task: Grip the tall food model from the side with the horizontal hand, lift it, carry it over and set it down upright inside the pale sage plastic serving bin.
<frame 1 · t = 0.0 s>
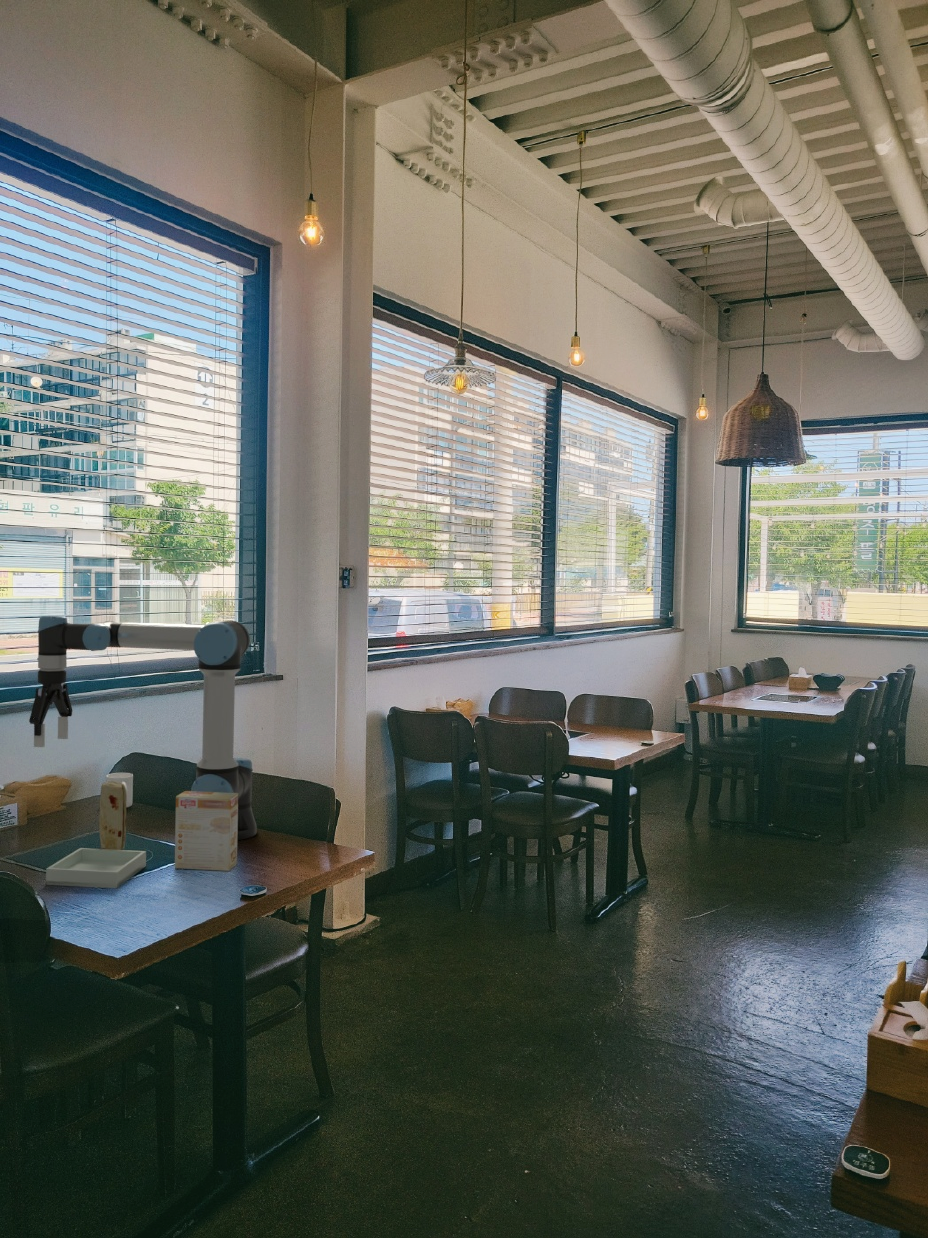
hand: (51, 742, 270), 28 cm above the table, tool pointing down, fingers open, 13 cm apart
coffeecake box: (206, 867, 250), on the table
serving bin: (97, 875, 240), on the table
mug: (120, 807, 309), on the table
food model: (111, 854, 259), on the table
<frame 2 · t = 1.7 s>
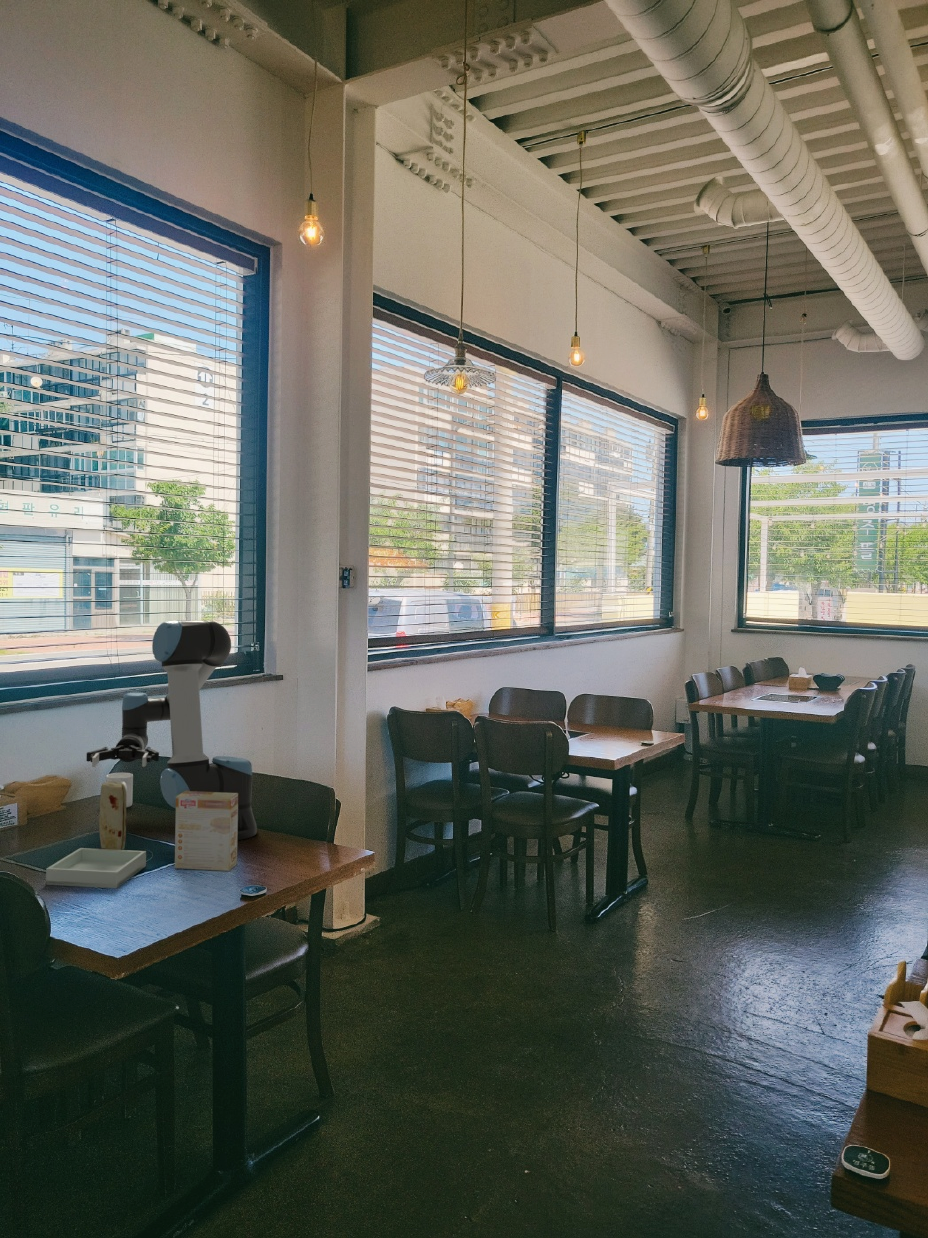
hand: (118, 762, 267), 23 cm above the table, tool horizontal, fingers open, 13 cm apart
nothing on the table moved.
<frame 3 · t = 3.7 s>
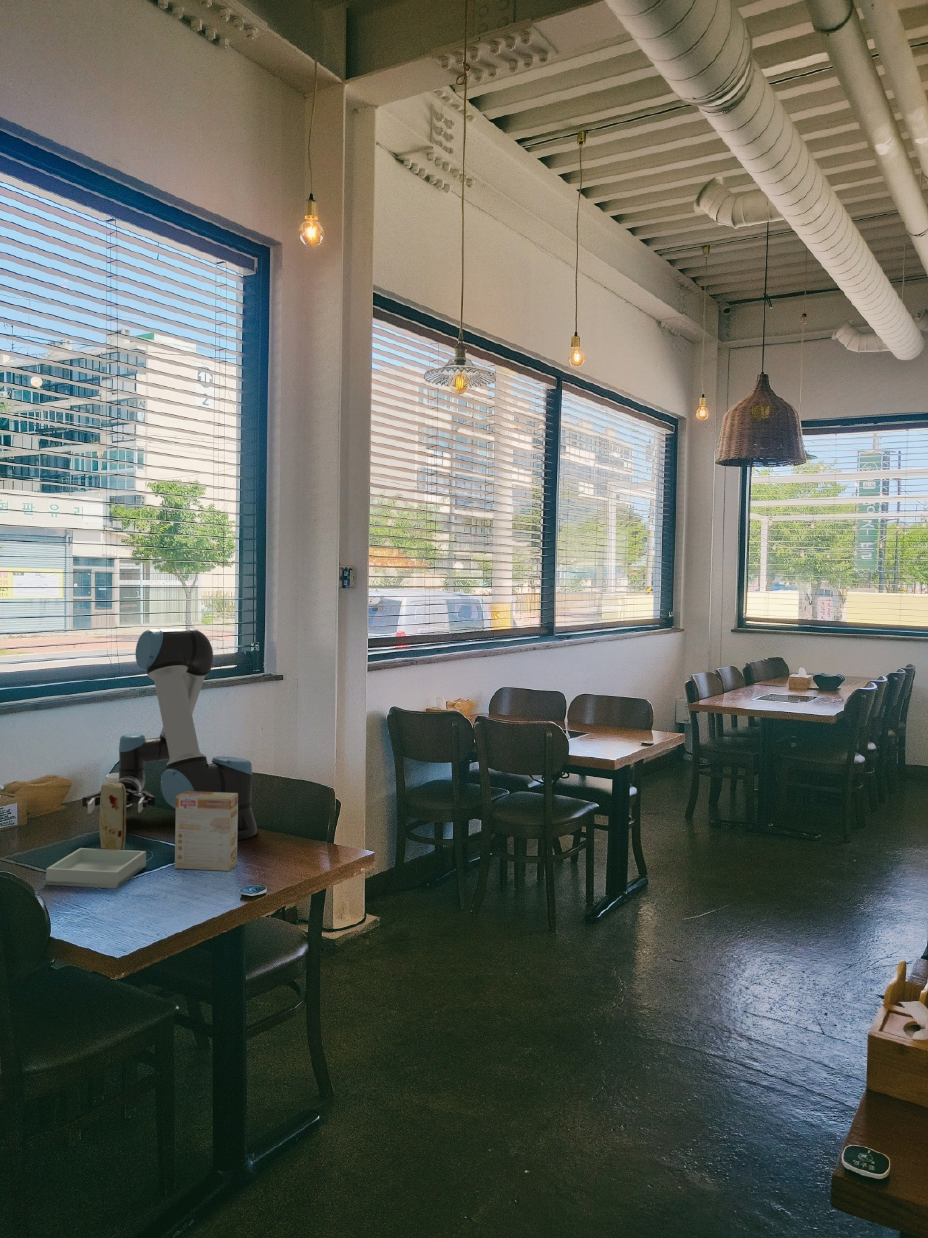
hand: (114, 808, 265), 11 cm above the table, tool horizontal, fingers open, 13 cm apart
nothing on the table moved.
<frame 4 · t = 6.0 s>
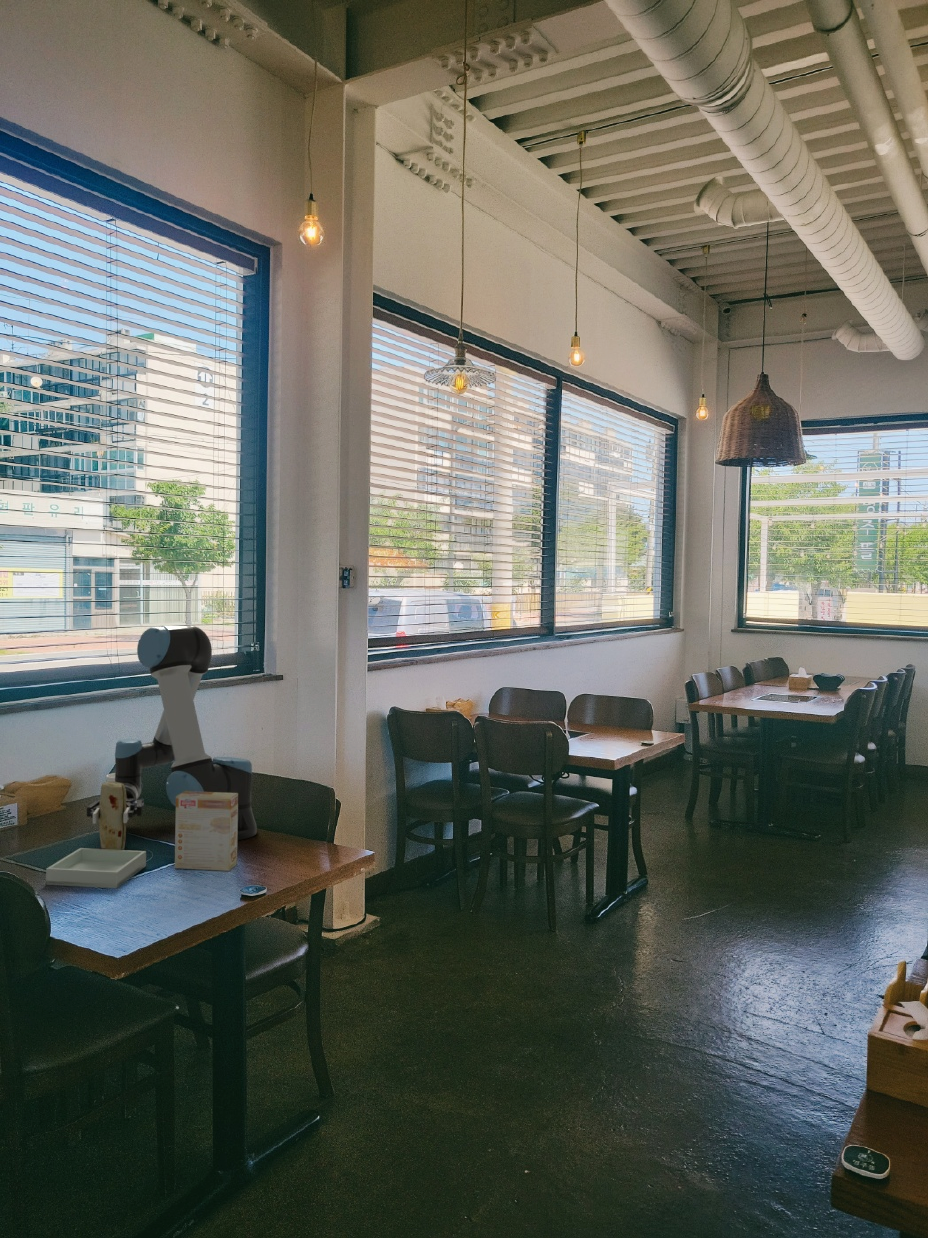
hand: (109, 818, 254), 11 cm above the table, tool horizontal, fingers closed on food model, 7 cm apart
food model: (111, 854, 259), on the table, touching gripper
everything else where it was.
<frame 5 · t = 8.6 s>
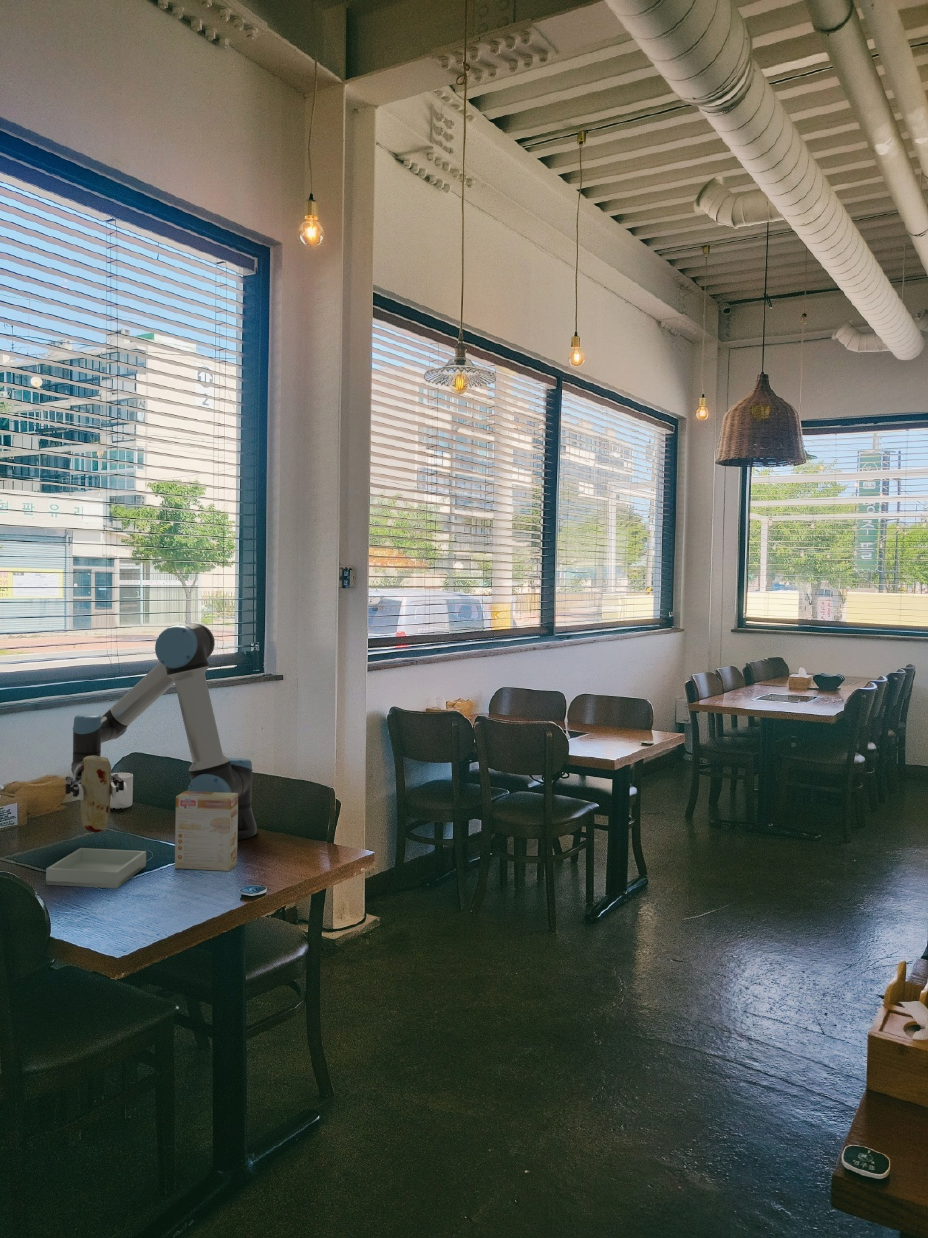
hand: (98, 793, 242), 20 cm above the table, tool horizontal, fingers closed on food model, 7 cm apart
food model: (95, 831, 247), point 9 cm above the table, touching gripper
everything else where it was.
when the fingers open (13 cm above the table, at t = 11.1 s): food model drops 1 cm, resting on serving bin.
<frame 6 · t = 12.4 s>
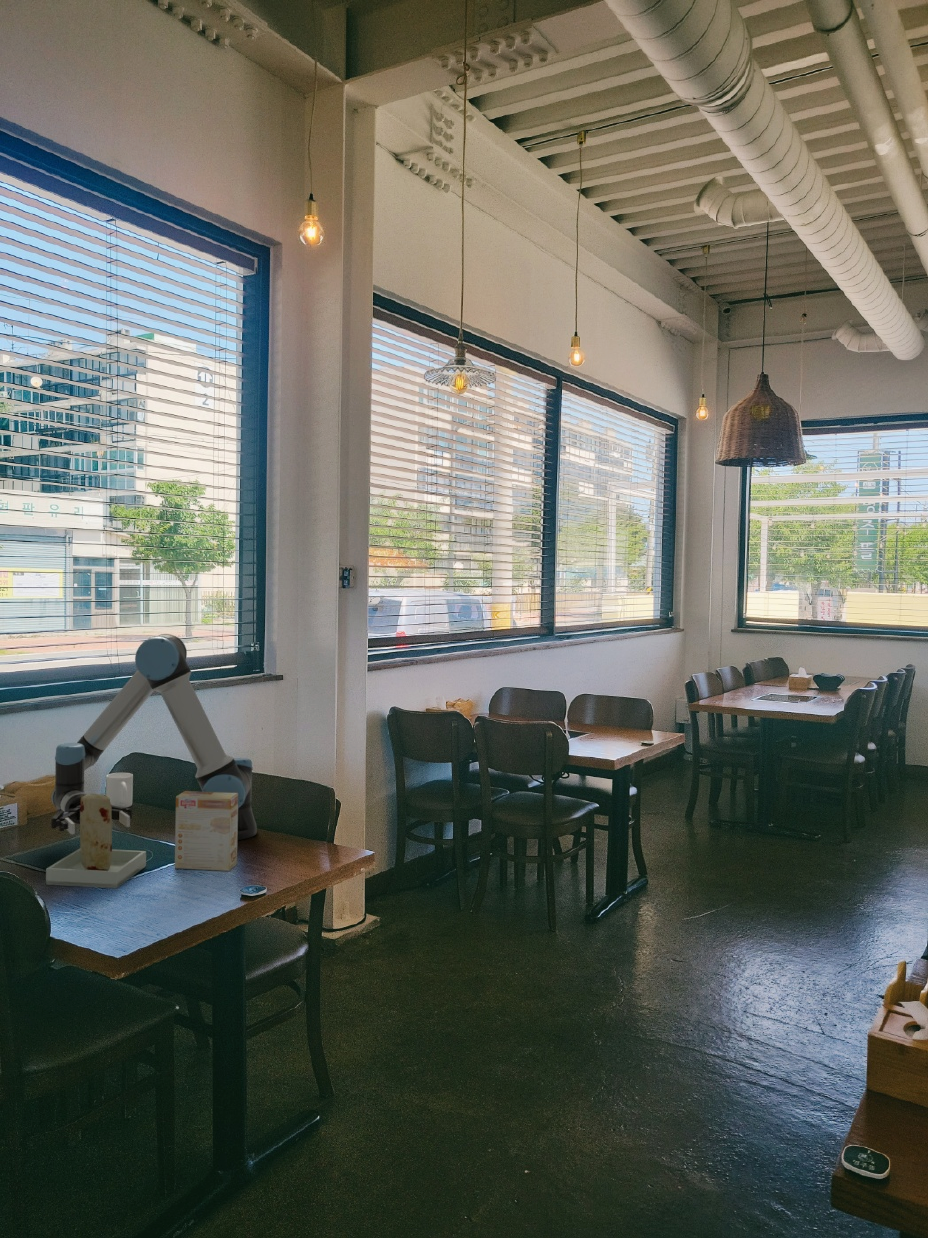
hand: (101, 825, 238), 14 cm above the table, tool horizontal, fingers open, 13 cm apart
food model: (97, 871, 240), point 1 cm above the table, touching serving bin
everything else where it was.
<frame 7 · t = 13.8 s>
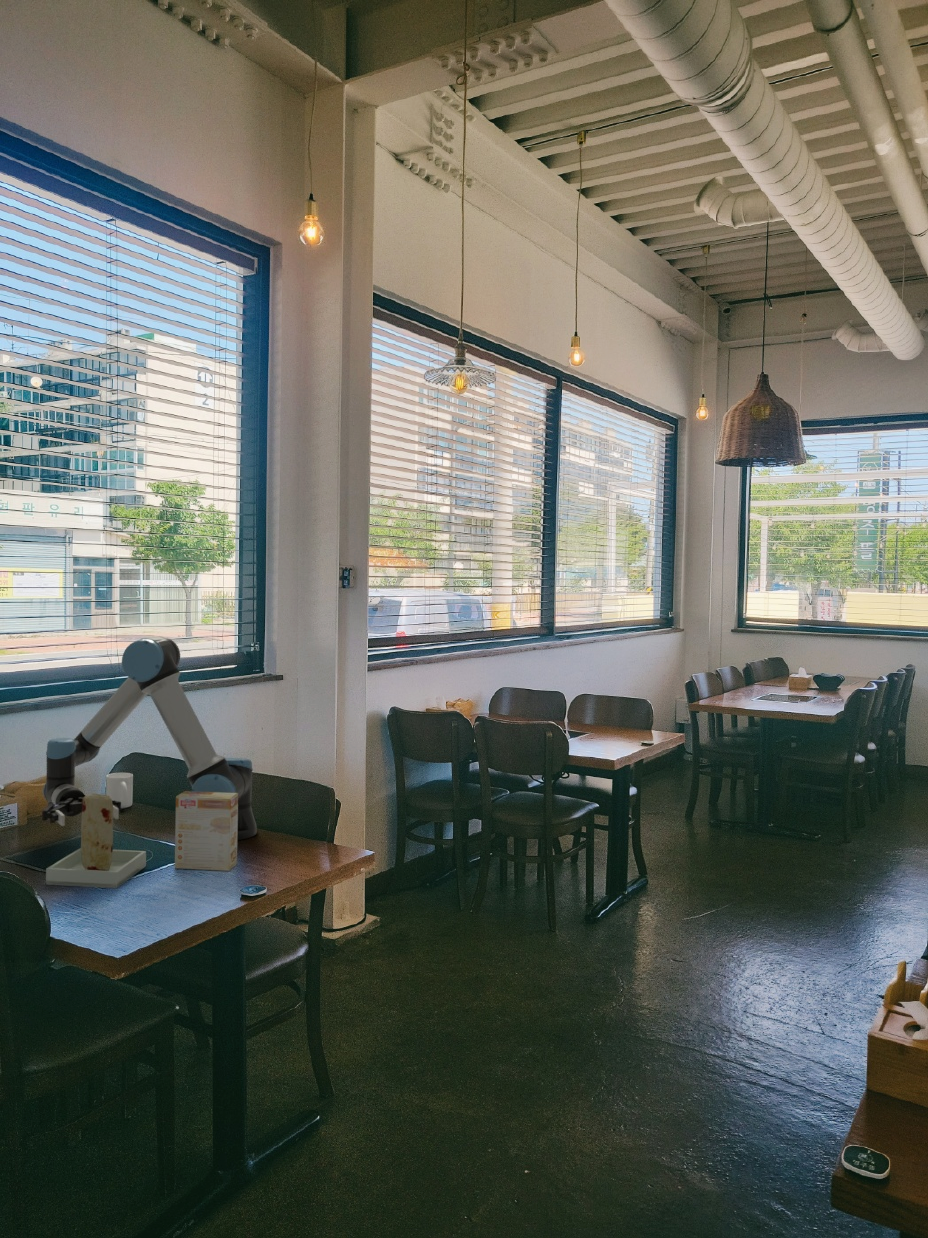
hand: (90, 817, 245), 14 cm above the table, tool horizontal, fingers open, 13 cm apart
nothing on the table moved.
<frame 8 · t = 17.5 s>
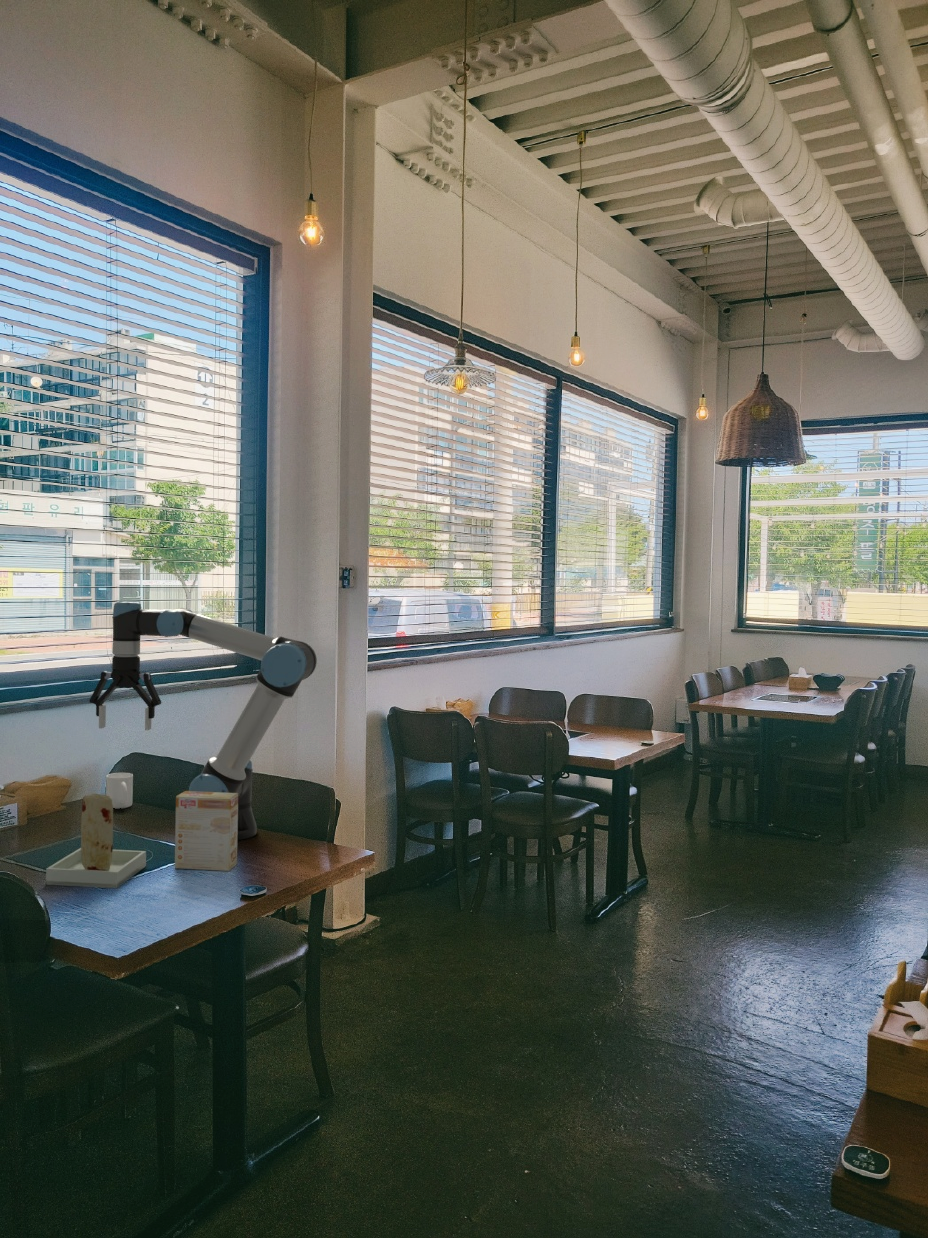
hand: (125, 728, 270), 33 cm above the table, tool pointing down, fingers open, 13 cm apart
nothing on the table moved.
at the end: food model inside the target area on the serving bin (0.1 cm from its centre), point 0.8 cm above the serving bin's base; food model tilted 0°; the gripper is holding nothing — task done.
